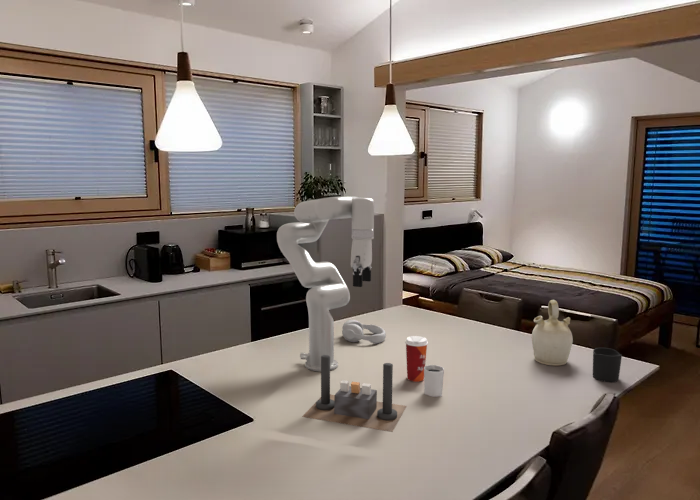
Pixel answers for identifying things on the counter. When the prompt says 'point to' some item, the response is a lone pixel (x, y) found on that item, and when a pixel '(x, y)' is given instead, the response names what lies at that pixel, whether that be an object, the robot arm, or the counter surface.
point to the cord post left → (325, 385)
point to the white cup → (433, 380)
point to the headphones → (354, 332)
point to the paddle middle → (355, 387)
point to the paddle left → (344, 385)
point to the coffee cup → (416, 357)
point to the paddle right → (366, 389)
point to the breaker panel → (357, 420)
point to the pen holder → (606, 364)
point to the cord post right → (387, 395)
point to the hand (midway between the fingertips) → (362, 283)
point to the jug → (552, 338)
